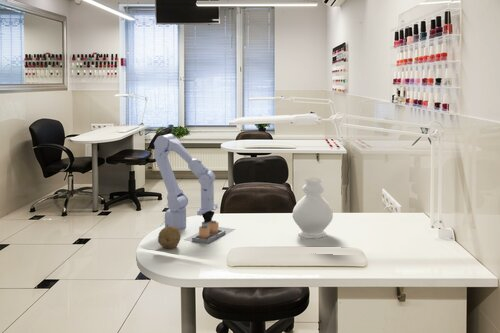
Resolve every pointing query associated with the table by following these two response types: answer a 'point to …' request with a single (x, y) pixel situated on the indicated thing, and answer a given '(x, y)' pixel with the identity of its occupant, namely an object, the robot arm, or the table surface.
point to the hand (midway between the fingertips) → (207, 227)
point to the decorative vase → (312, 210)
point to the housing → (212, 238)
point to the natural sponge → (169, 237)
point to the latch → (205, 223)
